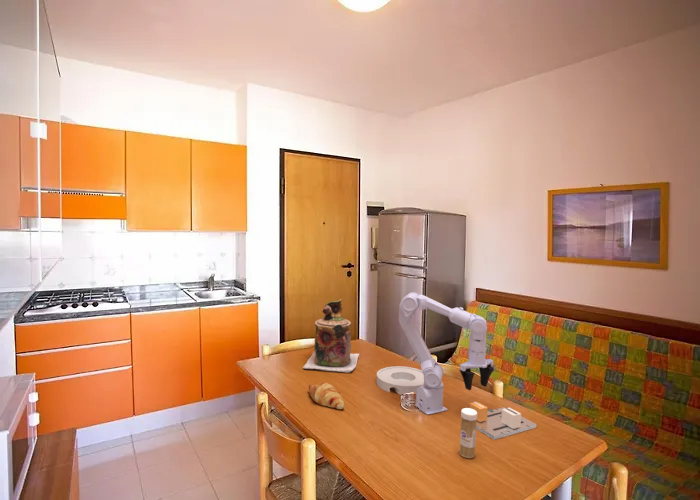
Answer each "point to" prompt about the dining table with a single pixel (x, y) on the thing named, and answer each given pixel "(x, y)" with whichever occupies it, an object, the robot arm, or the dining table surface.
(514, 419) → the fader cap
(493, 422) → the console
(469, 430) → the sprinkles bottle
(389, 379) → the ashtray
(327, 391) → the croissant
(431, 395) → the robot arm
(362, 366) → the dining table surface
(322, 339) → the cookie jar
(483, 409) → the cap
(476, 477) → the dining table surface
